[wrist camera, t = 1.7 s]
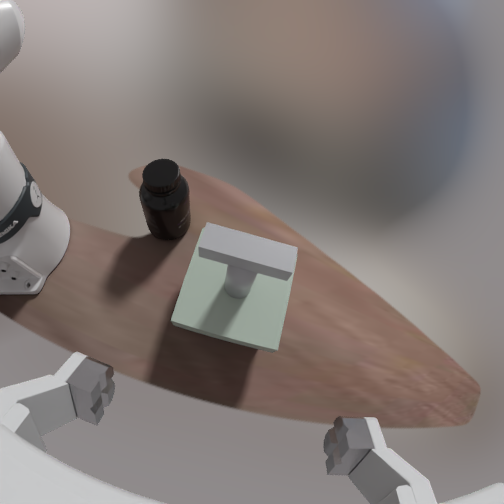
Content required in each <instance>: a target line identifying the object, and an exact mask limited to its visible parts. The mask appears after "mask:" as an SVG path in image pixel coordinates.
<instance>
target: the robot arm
mask: <svg viewBox="0 0 504 504" xmlns="http://www.w3.org/2000/svg"><path fill="white" fill-rule="evenodd" d="M24 33H25V22H24V17H23V14H22V11H21V9H20V8H19V6H18V5H17V4H16V3H15V2H14V1H13V0H0V73H1V72H2V71H3V70H4V69H5V68H6V67H7V66H8V65H9V64H10V63H11V62H12V60H14V59H15V57H16V56H17V55H18V54H19V52H20V49H21V47H22V43H23V39H24ZM69 237H70V225H69V221H68V218H67V216H66V215H65V213H64V212H63V211H62V210H61V209H59V208H58V207H56V206H55V205H53V204H52V203H51V202H50V201H49V200H47V199H46V198H45V197H44V196H43V195H42V194H41V192H40V189H39V188H38V186H37V184H36V182H35V180H34V179H33V177H32V176H31V174H30V173H29V171H28V170H27V168H26V167H25V165H24V164H22V163H21V162H19V161H18V159H17V157H16V156H15V154H14V152H13V150H12V149H11V147H10V145H9V143H8V142H7V140H6V138H5V136H4V134H3V133H2V132H1V131H0V294H37V293H39V292H40V291H41V289H42V287H43V285H44V283H45V280H46V278H47V276H48V275H49V274H50V273H51V271H52V270H53V269H54V268H55V267H56V266H57V265H58V263H59V262H60V260H61V259H62V257H63V255H64V253H65V251H66V249H67V246H68V242H69ZM29 285H30V287H29ZM113 375H114V371H113V367H112V366H110V365H107V364H105V363H103V362H100V361H98V360H96V359H93V358H91V357H89V356H86V355H84V354H81V353H79V352H75V353H73V354H72V355H71V357H70V358H69V359H68V360H67V361H66V362H65V363H64V364H63V365H62V367H61V368H60V369H59V370H58V371H57V372H56V374H55V375H54V376H52V375H47V376H44V377H40V378H37V379H33V380H30V381H26V382H23V383H19V384H15V385H12V386H8V387H4V388H0V504H168V503H164V502H161V501H157V500H154V499H151V498H147V497H144V496H141V495H138V494H135V493H132V492H129V491H127V490H124V489H121V488H119V487H116V486H114V485H111V484H109V483H106V482H104V481H101V480H99V479H97V478H94V477H92V476H90V475H88V474H86V473H84V472H82V471H80V470H77V469H75V468H73V467H71V466H69V465H68V464H66V463H64V462H62V461H60V460H58V459H56V458H54V457H53V456H51V455H49V454H47V453H46V451H47V449H46V446H45V444H44V442H43V440H42V438H41V436H43V435H45V434H47V433H49V432H51V431H53V430H55V429H57V428H59V427H61V426H63V425H65V424H67V423H69V422H71V421H73V420H75V419H77V417H78V418H80V419H82V420H85V421H87V422H89V423H92V424H94V425H98V423H99V422H100V420H101V418H102V416H103V415H104V409H103V408H104V407H106V406H109V404H110V402H111V401H112V398H113V395H114V390H115V383H114V381H113V380H112V379H111V378H112V376H113ZM333 423H334V427H333V428H331V429H329V430H328V432H327V434H326V435H325V439H324V452H325V453H326V454H327V456H328V459H327V460H326V467H327V474H328V475H348V477H349V478H350V480H351V481H352V482H353V483H354V485H355V486H356V487H357V488H358V490H359V491H360V492H361V493H362V494H363V496H364V497H365V498H366V499H367V500H368V502H369V503H370V504H437V502H436V499H435V496H434V493H433V491H432V487H431V485H430V482H429V480H428V479H427V478H425V477H424V476H423V475H422V474H420V473H419V472H418V471H417V470H416V469H414V468H413V467H412V466H411V465H409V464H408V463H407V462H406V461H405V460H403V459H402V458H401V457H400V456H399V455H398V454H396V453H395V452H394V451H393V450H392V449H387V446H386V443H385V440H384V437H383V435H382V432H381V429H380V426H379V423H378V420H377V419H376V418H371V417H347V416H339V417H337V418H336V419H335V421H334V422H333ZM440 504H504V484H503V483H496V484H493V485H490V486H488V487H486V488H483V489H481V490H478V491H476V492H473V493H470V494H467V495H465V496H462V497H459V498H456V499H453V500H450V501H446V502H443V503H440Z"/></svg>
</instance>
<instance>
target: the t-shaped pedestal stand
mask: <svg viewBox="0 0 504 504" xmlns="http://www.w3.org/2000/svg"><path fill="white" fill-rule="evenodd" d="M297 249H298V248H297V247H294V246H290V245H287V244H283V243H280V242H276V241H273V240H269V239H266V238H262V237H258V236H255V235H251V234H248V233H244V232H241V231H237V230H233V229H230V228H226V227H222V226H219V225H215V224H212V223H208V222H207V224H206V227H205V228H203V229H202V232H201V234H200V237H199V240H198V243H197V245H196V248H195V251H194V254H193V256H192V259H191V262H190V265H189V268H188V271H187V273H186V276H185V279H184V282H183V285H182V288H181V291H180V294H179V297H178V300H177V303H176V306H175V309H174V312H173V315H172V318H171V322H172V324H173V325H174V326H177V327H180V328H184V329H187V330H190V331H193V332H197V333H200V334H204V335H207V336H210V337H214V338H217V339H221V340H225V341H228V342H232V343H236V344H239V345H243V346H247V347H251V348H255V349H259V350H263V351H267V352H272V353H273V352H275V351H277V350H278V346H279V342H280V337H281V333H282V328H283V323H284V319H285V314H286V309H287V305H288V300H289V295H290V290H291V285H292V280H293V275H294V270H295V264H296V259H297Z"/></svg>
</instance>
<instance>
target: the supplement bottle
mask: <svg viewBox="0 0 504 504" xmlns="http://www.w3.org/2000/svg"><path fill="white" fill-rule="evenodd" d="M142 175H143V183H142V185H141V187H140V191H139V197H140V201H141V205H142V208H143V212H144V215H145V218H146V222H147V225H148V227H149V230H150V232H151V233H152V234H153V235H154V236H155V237H157V238H159V239H161V240H174V239H177V238H179V237H181V236H182V235H183V234H185V232H186V231H187V230H188V228H189V226H190V200H189V187H188V183H187V181H186V179H185V178H184V177H183V176H182V175H181V174H180V169H179V166H178V165H177V164H176V163H175V162H173V161H172V160H169V159H158V160H155V161H153V162H151V163H149V164H148V165H147V166H146V167H145V168H144V171H143V174H142Z"/></svg>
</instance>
